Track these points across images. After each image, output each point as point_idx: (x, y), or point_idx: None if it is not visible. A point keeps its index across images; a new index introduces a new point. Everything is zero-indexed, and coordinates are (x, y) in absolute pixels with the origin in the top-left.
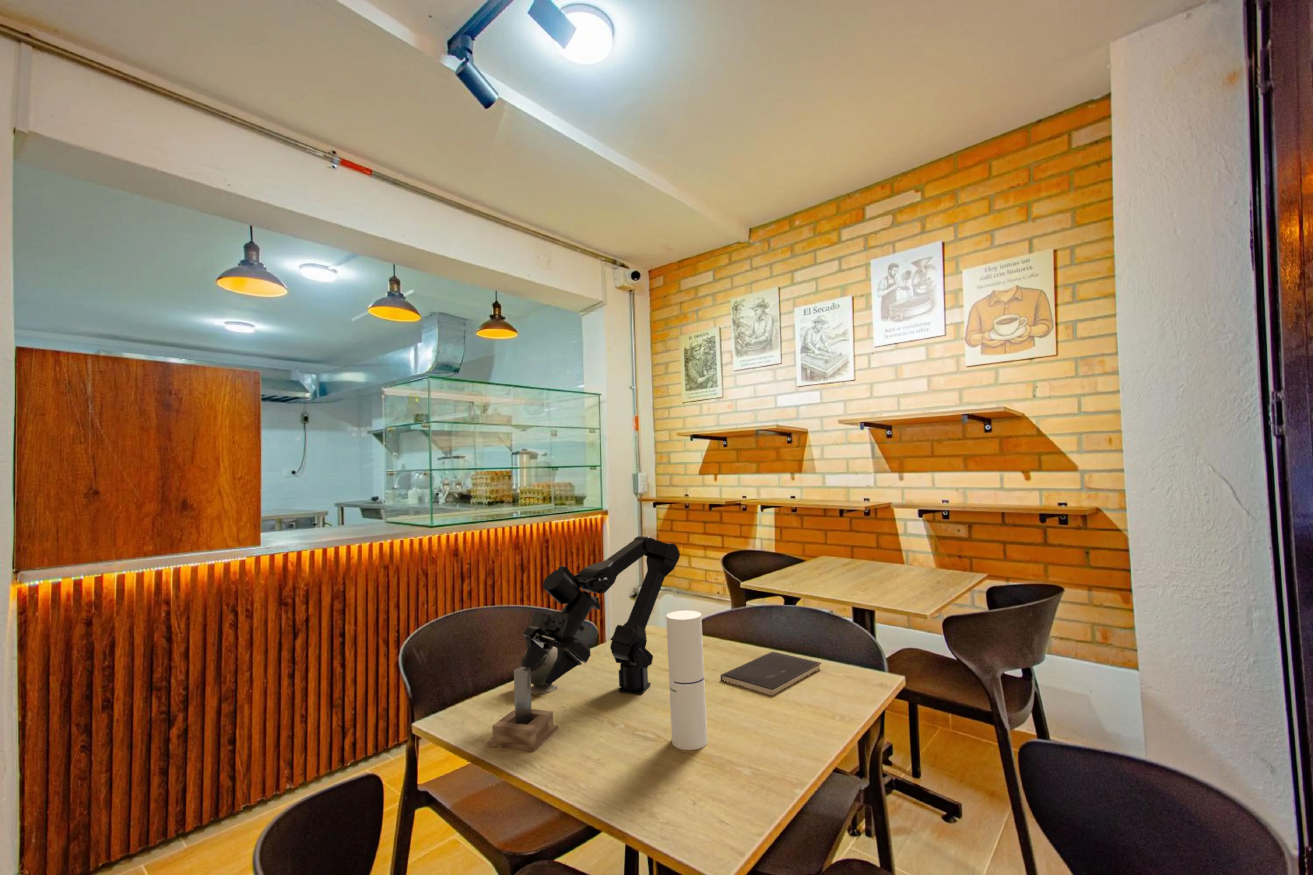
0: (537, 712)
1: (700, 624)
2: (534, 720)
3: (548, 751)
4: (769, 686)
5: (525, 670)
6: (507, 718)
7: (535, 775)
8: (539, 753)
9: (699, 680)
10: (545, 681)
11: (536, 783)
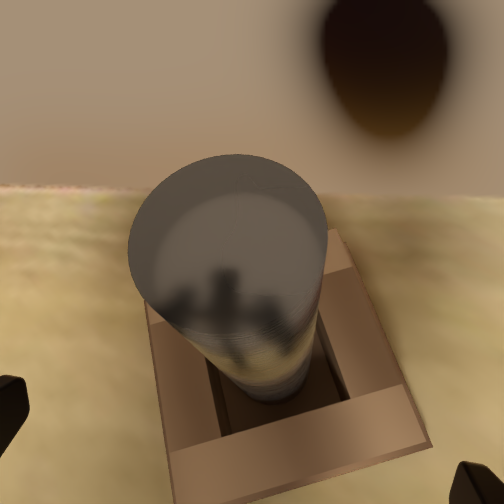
0: (254, 451)
1: None
2: (195, 364)
3: (99, 334)
4: None
5: (168, 239)
6: (338, 308)
7: (53, 215)
8: (121, 307)
9: None
10: (13, 378)
11: (27, 193)
